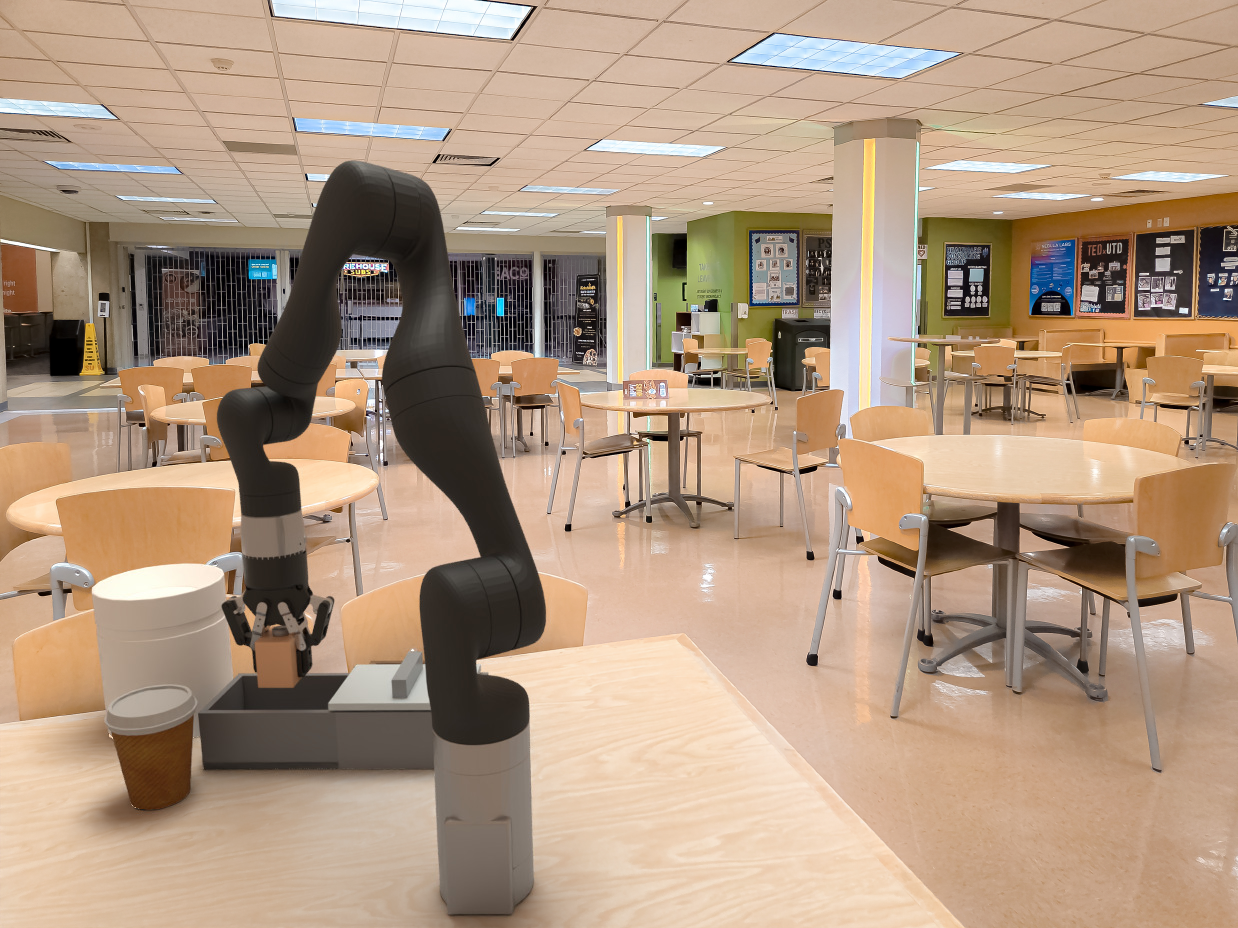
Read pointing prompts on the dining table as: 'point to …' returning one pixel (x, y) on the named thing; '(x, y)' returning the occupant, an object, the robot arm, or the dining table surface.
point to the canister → (163, 631)
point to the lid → (385, 687)
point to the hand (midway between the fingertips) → (284, 674)
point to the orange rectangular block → (276, 659)
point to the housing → (308, 729)
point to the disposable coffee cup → (154, 743)
